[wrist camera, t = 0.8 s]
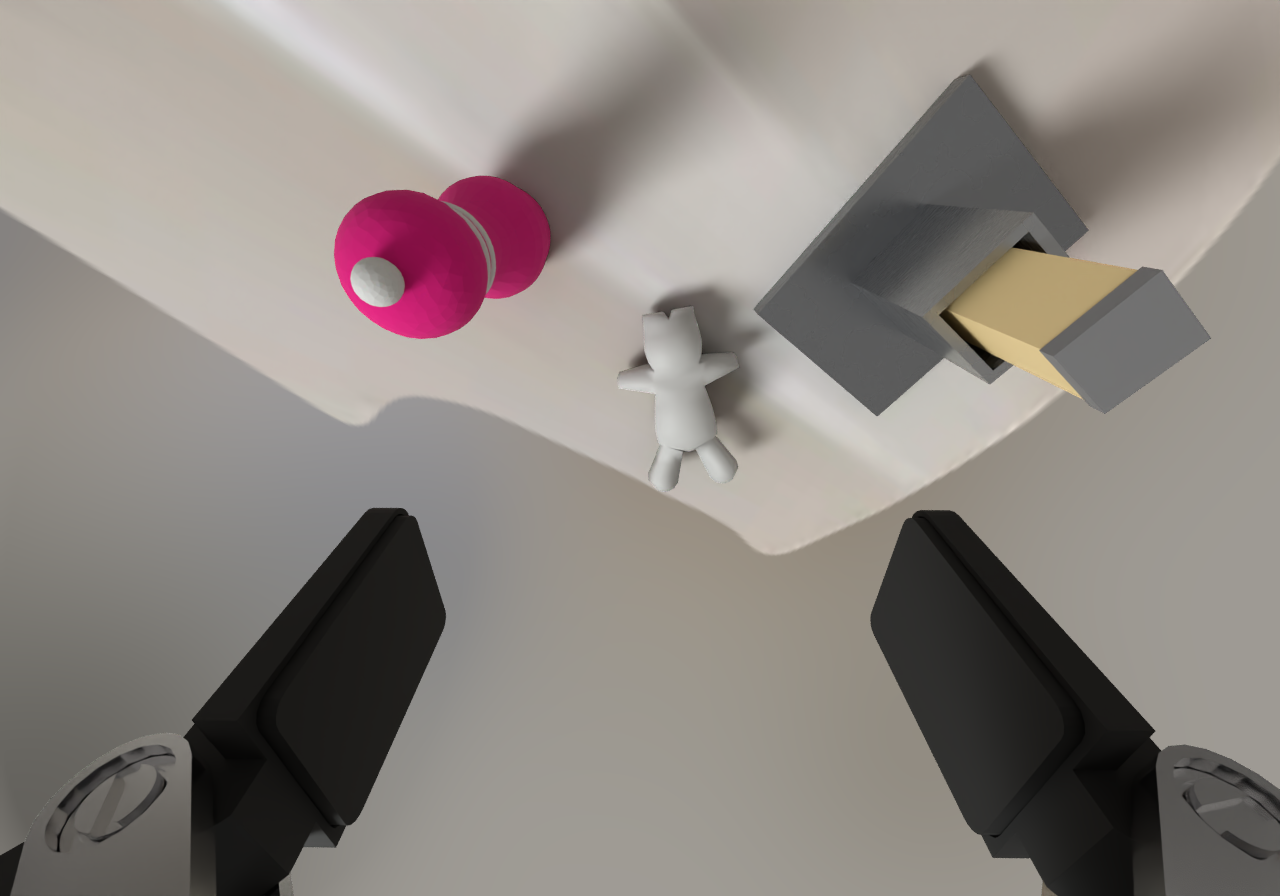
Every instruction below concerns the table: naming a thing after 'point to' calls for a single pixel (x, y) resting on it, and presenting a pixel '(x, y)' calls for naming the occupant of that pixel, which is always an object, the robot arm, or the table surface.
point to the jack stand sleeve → (919, 251)
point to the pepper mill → (439, 253)
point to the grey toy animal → (681, 396)
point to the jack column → (1078, 323)
